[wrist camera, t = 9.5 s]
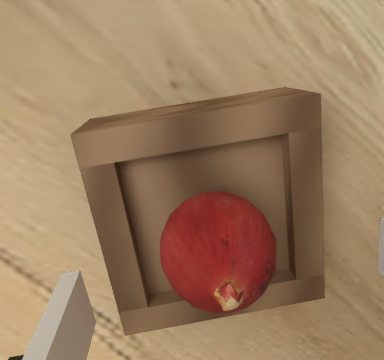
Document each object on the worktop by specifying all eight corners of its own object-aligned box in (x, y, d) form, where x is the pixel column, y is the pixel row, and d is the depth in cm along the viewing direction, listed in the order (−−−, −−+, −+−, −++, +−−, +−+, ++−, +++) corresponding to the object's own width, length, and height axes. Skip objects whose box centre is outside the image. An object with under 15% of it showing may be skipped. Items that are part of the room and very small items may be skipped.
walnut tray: (285, 87, 22) (320, 93, 18) (294, 255, 27) (324, 298, 22) (90, 119, 22) (70, 134, 17) (131, 284, 26) (125, 335, 21)
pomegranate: (270, 191, 20) (335, 266, 13) (231, 269, 22) (269, 377, 14) (180, 158, 19) (194, 220, 12) (146, 244, 21) (139, 346, 13)
